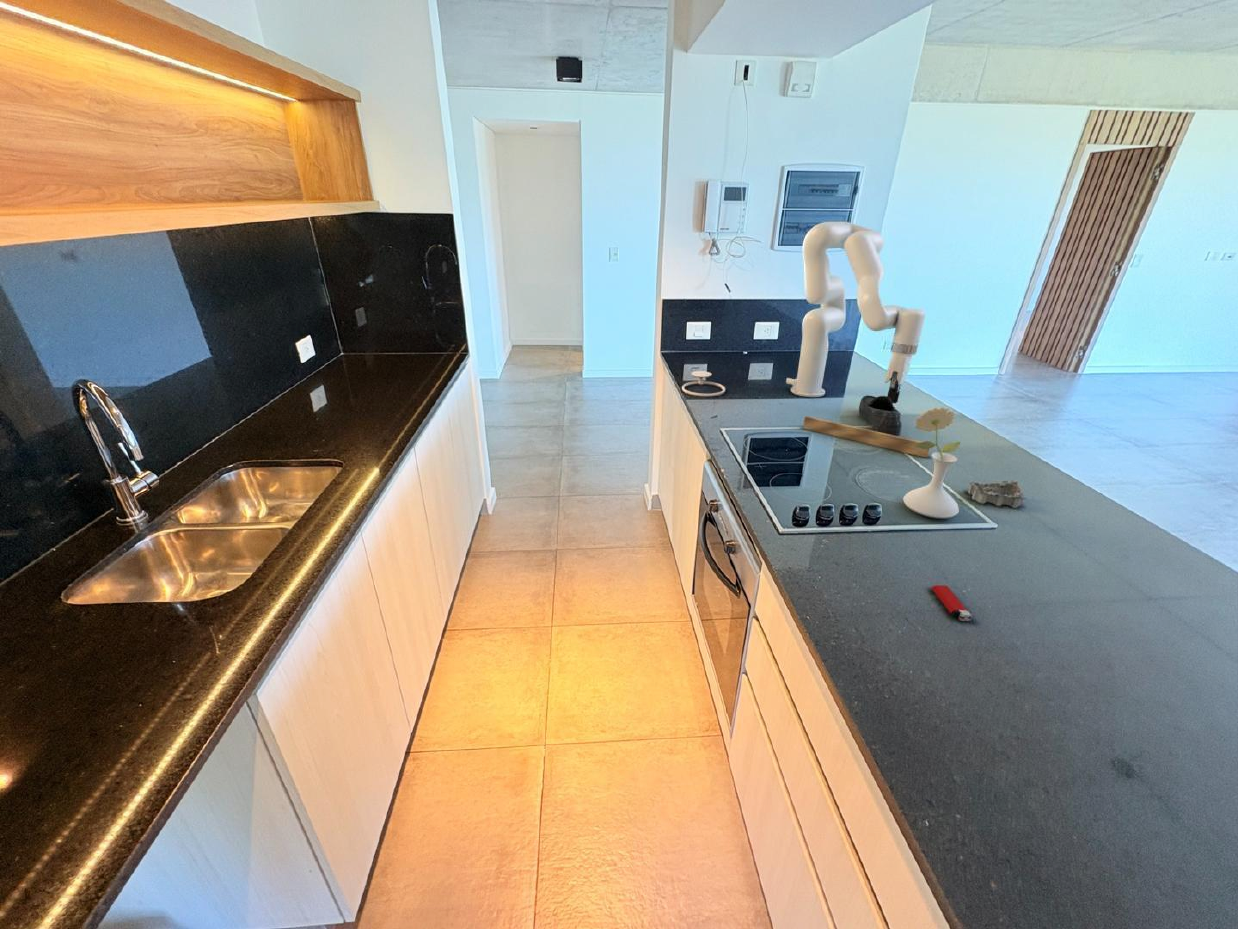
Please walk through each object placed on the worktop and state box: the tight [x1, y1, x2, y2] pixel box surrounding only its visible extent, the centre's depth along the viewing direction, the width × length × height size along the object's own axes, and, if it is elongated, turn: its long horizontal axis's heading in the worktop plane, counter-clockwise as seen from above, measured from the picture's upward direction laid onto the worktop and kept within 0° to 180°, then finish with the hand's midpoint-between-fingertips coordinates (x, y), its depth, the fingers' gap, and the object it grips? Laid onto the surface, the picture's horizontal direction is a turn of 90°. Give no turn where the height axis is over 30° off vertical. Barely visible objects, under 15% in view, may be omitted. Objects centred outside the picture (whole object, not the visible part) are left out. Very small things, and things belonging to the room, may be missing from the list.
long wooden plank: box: [802, 415, 930, 458], centre depth 159 cm, size 36×1×4 cm, turn 51°
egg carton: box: [967, 480, 1027, 509], centre depth 127 cm, size 11×8×4 cm
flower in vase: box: [902, 407, 961, 519], centre depth 118 cm, size 13×11×25 cm
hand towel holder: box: [681, 370, 726, 398], centre depth 207 cm, size 17×4×21 cm
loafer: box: [858, 395, 902, 437], centre depth 171 cm, size 10×29×10 cm, turn 174°
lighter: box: [931, 584, 973, 622], centre depth 93 cm, size 3×1×8 cm
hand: (891, 402), depth 179 cm, fingers closed
